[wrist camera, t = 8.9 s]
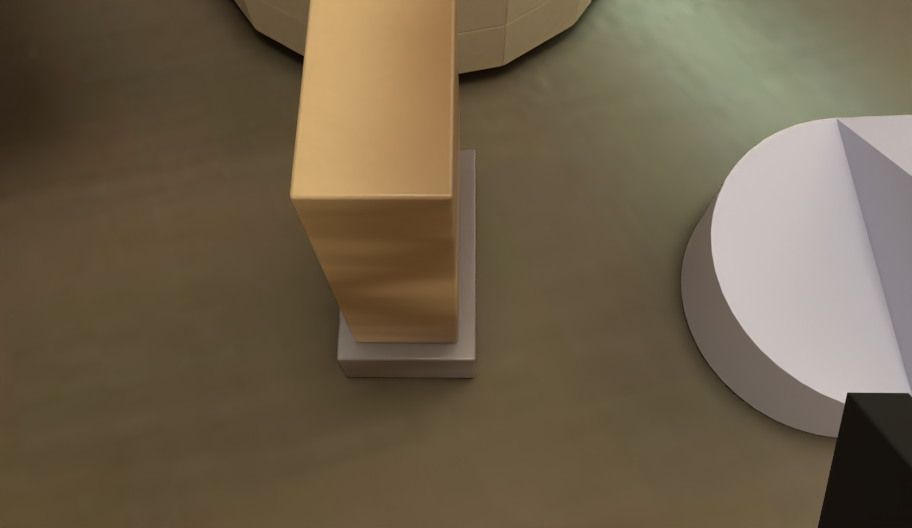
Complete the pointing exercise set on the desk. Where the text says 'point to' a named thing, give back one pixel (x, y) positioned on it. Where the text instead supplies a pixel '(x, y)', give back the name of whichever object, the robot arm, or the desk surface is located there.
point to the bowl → (479, 26)
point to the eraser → (389, 185)
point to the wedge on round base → (809, 270)
